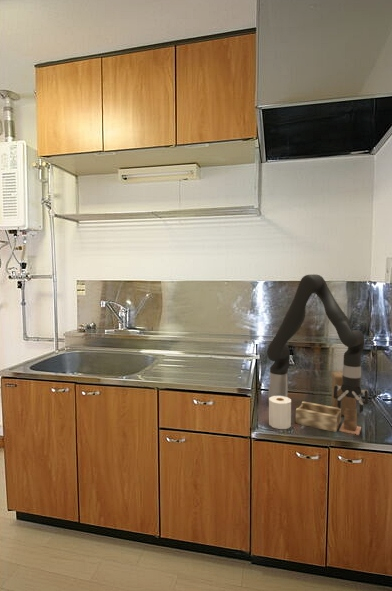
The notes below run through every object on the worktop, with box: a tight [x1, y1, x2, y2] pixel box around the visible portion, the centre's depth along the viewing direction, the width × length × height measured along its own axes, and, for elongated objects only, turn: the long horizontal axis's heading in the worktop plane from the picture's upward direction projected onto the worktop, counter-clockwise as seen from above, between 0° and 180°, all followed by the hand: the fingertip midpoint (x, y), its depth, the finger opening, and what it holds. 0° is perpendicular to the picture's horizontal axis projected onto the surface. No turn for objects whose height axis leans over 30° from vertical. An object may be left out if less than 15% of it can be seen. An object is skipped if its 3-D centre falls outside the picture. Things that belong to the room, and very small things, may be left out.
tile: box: [338, 422, 362, 436], centre depth 156 cm, size 8×8×1 cm
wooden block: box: [330, 370, 357, 417], centre depth 175 cm, size 10×10×20 cm
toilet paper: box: [268, 396, 292, 430], centre depth 162 cm, size 10×10×12 cm
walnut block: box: [343, 408, 358, 432], centre depth 156 cm, size 4×5×8 cm
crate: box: [295, 401, 342, 433], centre depth 163 cm, size 18×12×7 cm, turn 58°
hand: (350, 410), depth 156 cm, fingers open, 8 cm apart
